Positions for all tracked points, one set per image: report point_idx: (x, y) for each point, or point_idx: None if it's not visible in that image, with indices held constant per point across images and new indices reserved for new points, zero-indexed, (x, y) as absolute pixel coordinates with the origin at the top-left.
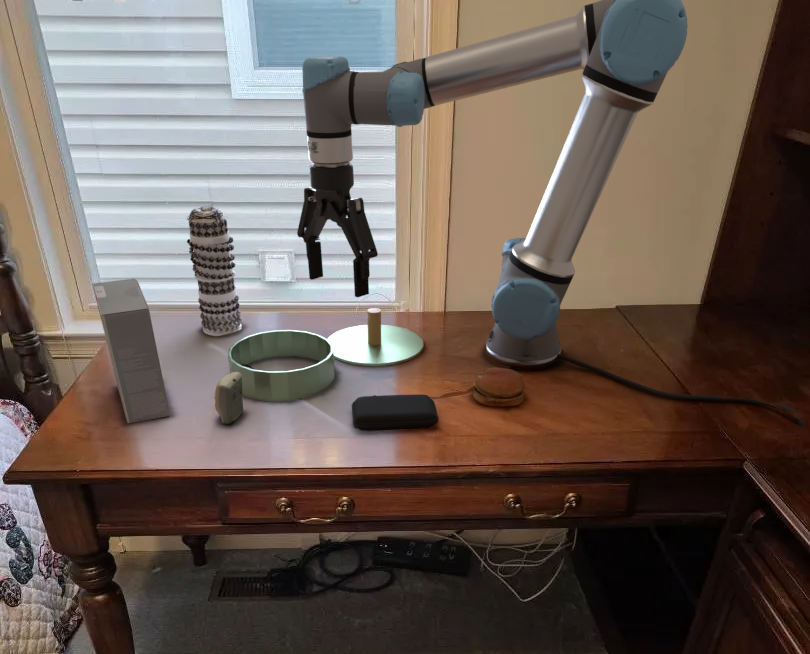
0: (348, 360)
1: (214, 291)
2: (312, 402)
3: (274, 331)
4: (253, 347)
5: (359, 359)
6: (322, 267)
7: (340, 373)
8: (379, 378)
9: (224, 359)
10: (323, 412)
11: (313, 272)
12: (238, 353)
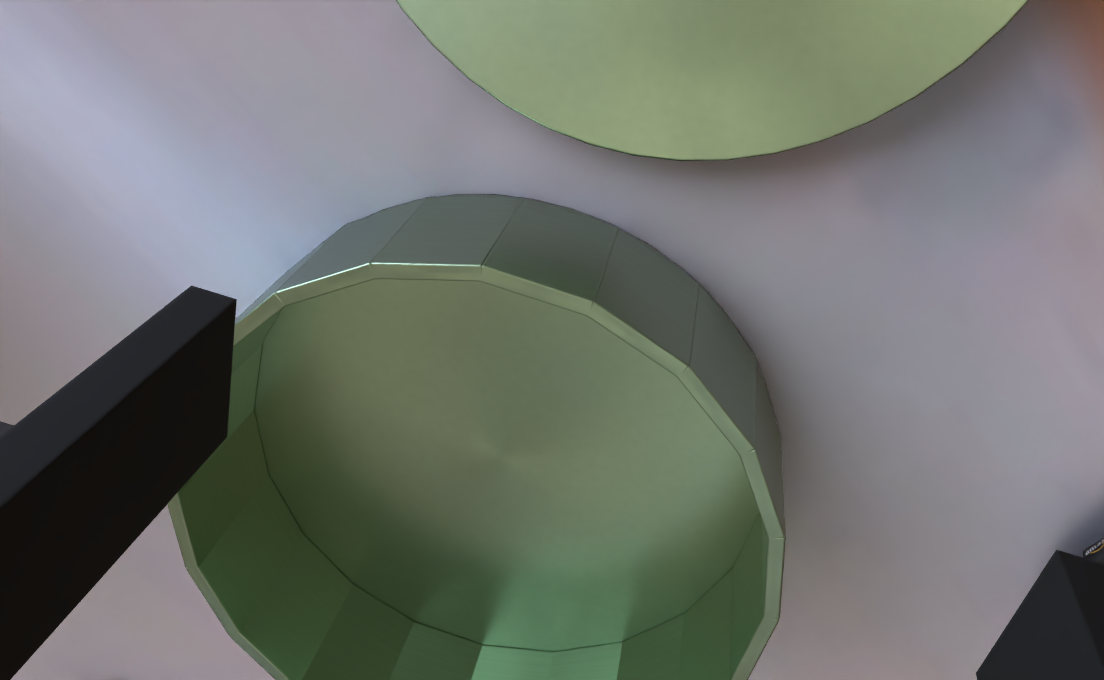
0: (713, 159)
1: None
2: (795, 582)
3: None
4: None
5: (771, 101)
6: (174, 350)
7: (729, 258)
8: (1001, 192)
9: None
10: (903, 633)
11: (190, 458)
12: (234, 540)
